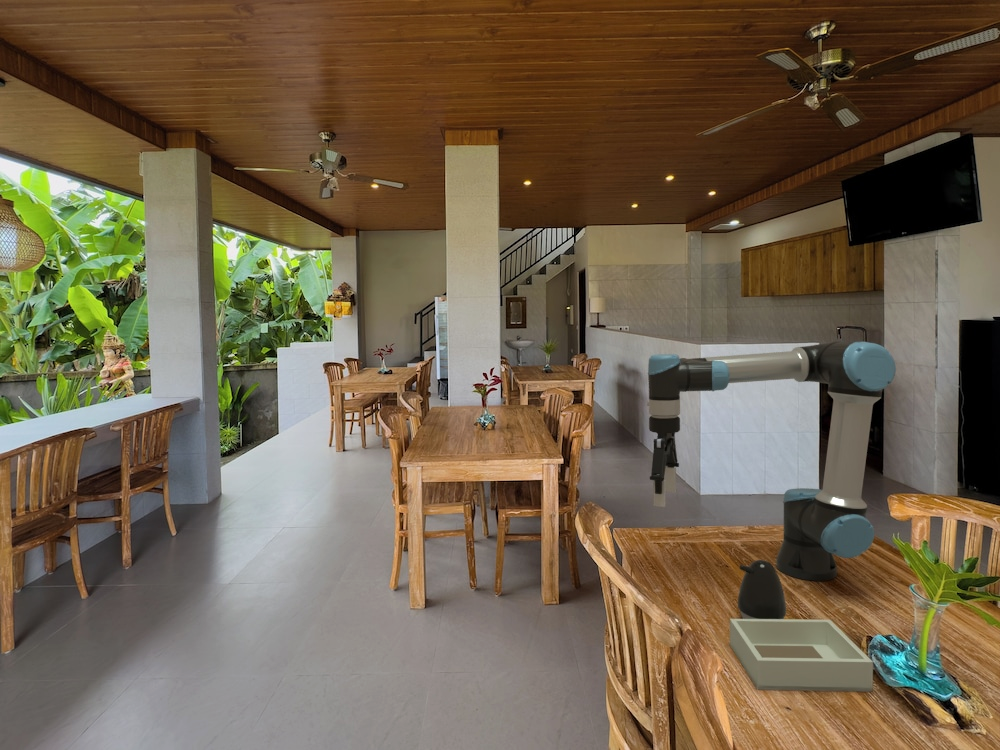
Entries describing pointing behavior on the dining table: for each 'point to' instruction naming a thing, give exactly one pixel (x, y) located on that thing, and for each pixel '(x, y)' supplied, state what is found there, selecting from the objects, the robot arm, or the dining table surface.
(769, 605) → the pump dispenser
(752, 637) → the tray
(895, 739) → the dining table surface
